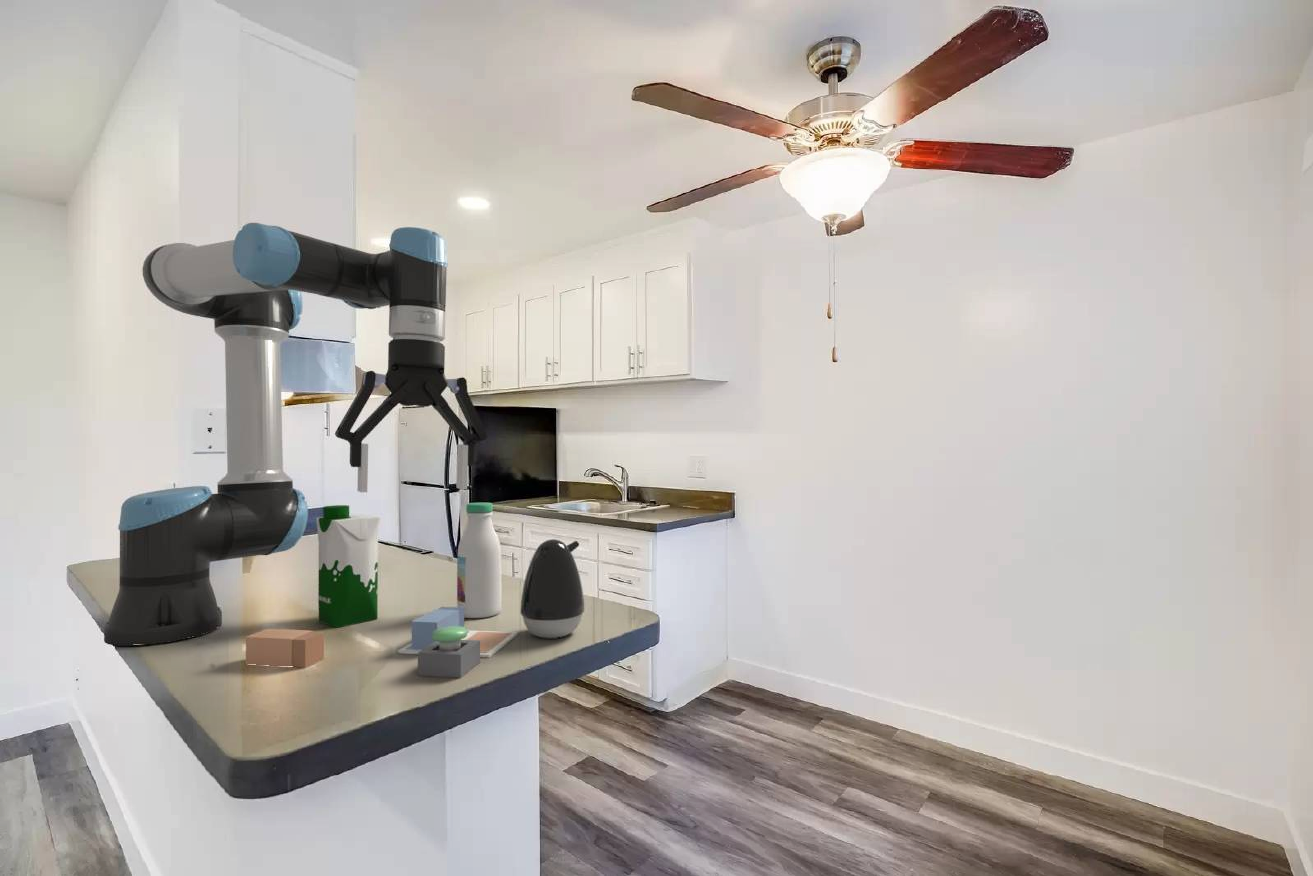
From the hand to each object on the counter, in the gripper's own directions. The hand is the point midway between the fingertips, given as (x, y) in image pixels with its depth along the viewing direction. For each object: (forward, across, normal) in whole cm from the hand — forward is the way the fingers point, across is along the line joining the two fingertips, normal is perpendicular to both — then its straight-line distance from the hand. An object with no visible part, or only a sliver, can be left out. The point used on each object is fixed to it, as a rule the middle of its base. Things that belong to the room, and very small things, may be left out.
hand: (414, 490), depth 90 cm
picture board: (+24, +8, +3) cm, 25 cm away
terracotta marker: (+24, -15, +9) cm, 30 cm away
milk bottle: (+24, +16, +18) cm, 35 cm away
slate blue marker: (+24, +5, +5) cm, 25 cm away
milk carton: (+25, -4, +28) cm, 37 cm away
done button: (+22, +3, -7) cm, 23 cm away
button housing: (+24, +3, -7) cm, 25 cm away
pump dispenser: (+24, +22, -1) cm, 32 cm away
